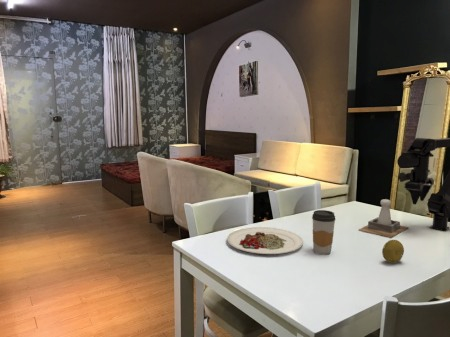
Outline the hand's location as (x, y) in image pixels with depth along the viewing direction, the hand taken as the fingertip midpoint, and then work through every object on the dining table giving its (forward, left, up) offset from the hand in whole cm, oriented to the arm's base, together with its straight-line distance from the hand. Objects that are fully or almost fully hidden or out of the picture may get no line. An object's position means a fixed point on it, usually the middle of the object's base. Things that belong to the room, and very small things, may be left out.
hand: (418, 202), depth 156 cm
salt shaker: (+8, -11, -13) cm, 18 cm away
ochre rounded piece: (+43, +6, -13) cm, 45 cm away
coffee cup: (+52, -16, -13) cm, 56 cm away
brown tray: (+8, -11, -13) cm, 19 cm away
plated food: (+60, -37, -13) cm, 72 cm away
